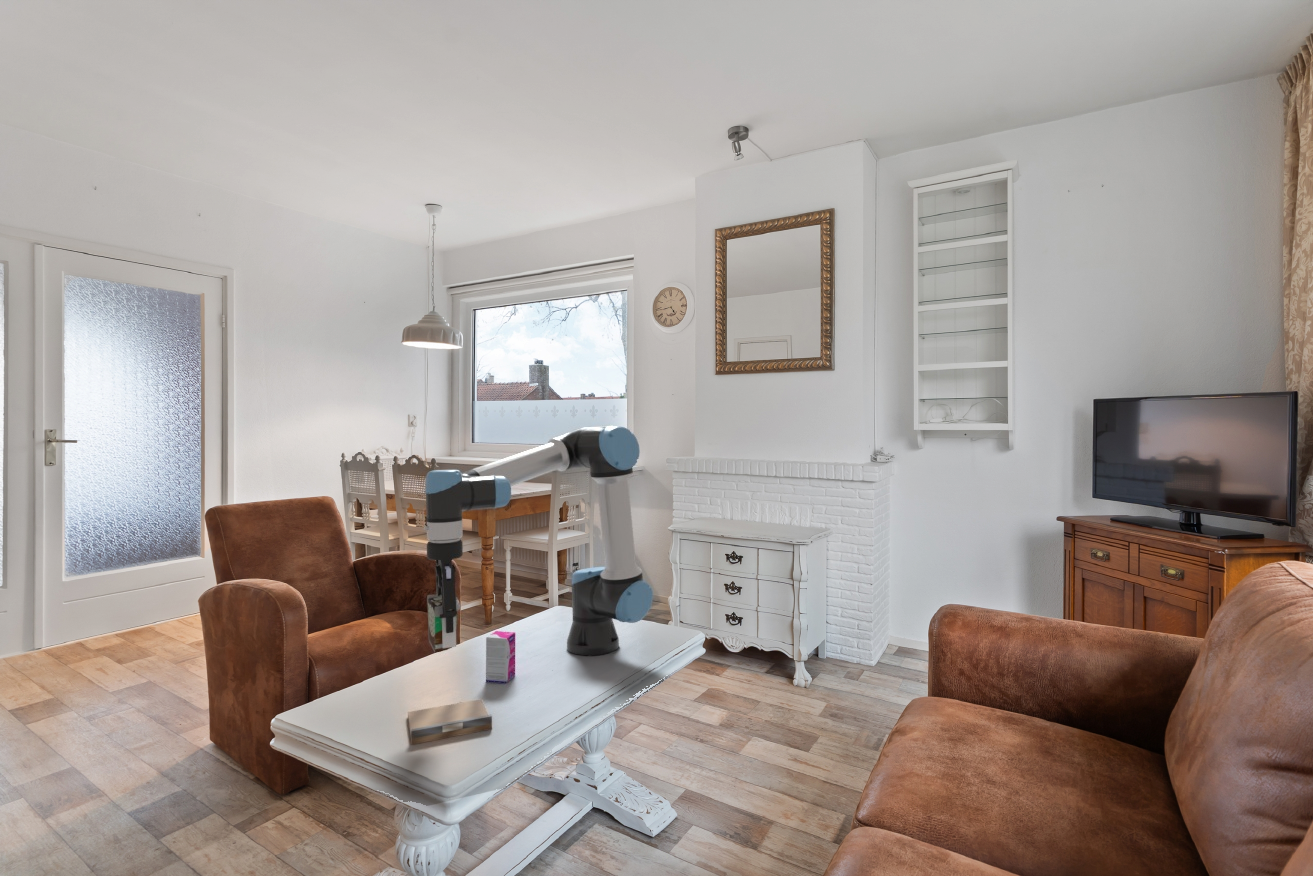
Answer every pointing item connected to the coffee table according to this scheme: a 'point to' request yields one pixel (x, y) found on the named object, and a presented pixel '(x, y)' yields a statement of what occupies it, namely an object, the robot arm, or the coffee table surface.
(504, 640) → the supplement box
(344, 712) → the coffee table surface
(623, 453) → the robot arm
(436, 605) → the food container
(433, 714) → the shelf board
